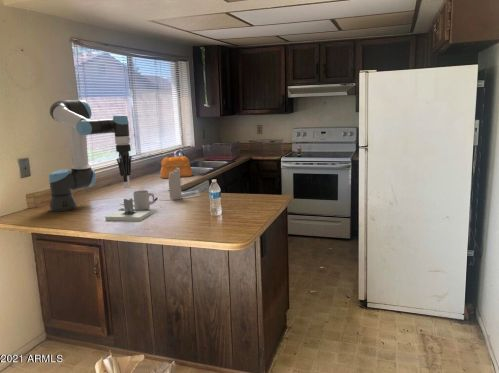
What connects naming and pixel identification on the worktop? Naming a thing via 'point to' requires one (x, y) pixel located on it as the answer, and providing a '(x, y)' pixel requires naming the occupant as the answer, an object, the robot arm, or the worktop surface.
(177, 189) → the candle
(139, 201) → the mug
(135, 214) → the plate
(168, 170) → the bread
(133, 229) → the worktop surface
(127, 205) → the grey metal cylinder
